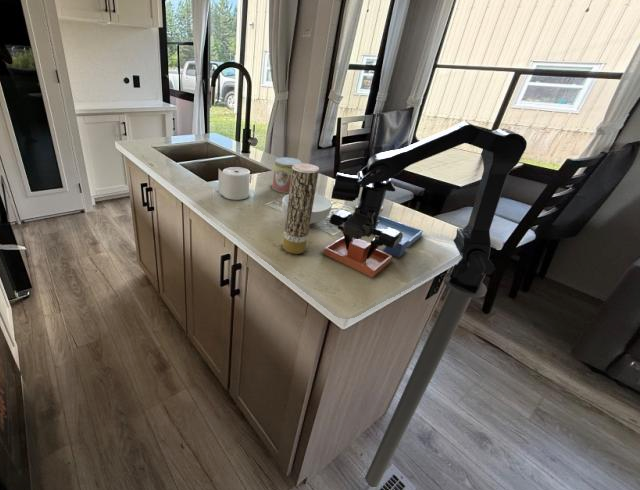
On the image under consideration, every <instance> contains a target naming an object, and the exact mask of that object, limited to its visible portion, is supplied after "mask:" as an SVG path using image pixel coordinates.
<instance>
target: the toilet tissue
mask: <svg viewBox="0 0 640 490" xmlns="http://www.w3.org/2000/svg"><path fill="white" fill-rule="evenodd" d="M217 178H218V179H217V180H218V181H217V182H218V183H217V184H218V189H217V190H218V192H219V194H220V195H222V196H223V198H226V199H228V200H234V201H235V200H236V201H237V200H238V201H239V200H245V199H247V198H249V196H250V194H249V193H250V179H251V170H249V169H248V168H246V167H241V166H232V167H231V166H230V167H225V168H224V169H223V170H221V169H220V168H218V177H217Z"/></svg>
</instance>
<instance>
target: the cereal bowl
mask: <svg viewBox="0 0 640 490" xmlns="http://www.w3.org/2000/svg"><path fill="white" fill-rule="evenodd" d="M288 199H289V193H287V194H286V195H284V196H283V198H282V200H281V201H282V210H283V213H284V215H285V216H286V215H287V207H288ZM332 206H333V203H332V200H330V199H329V198H328V197H326V196H324V195H321V194H318V193H315V196H314V202H313V208H312V214H311V220H310V225H313V224H318V223H320V222H321V223H322V221H325V220H326V219H327V218H328V217H329V216H330V213H331V211H332V208H333V207H332Z"/></svg>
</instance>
